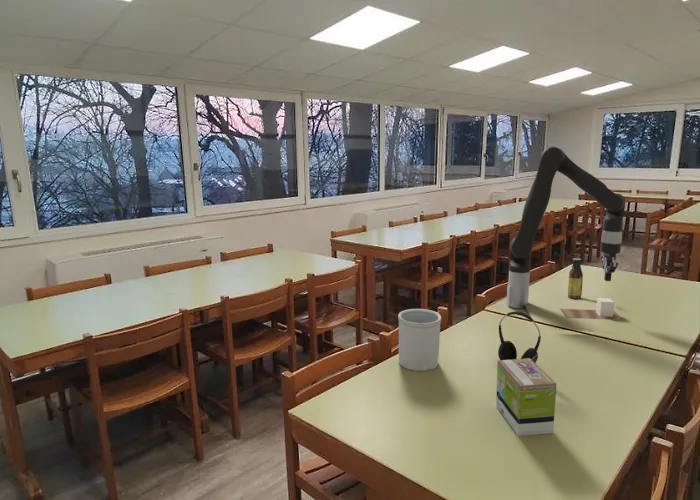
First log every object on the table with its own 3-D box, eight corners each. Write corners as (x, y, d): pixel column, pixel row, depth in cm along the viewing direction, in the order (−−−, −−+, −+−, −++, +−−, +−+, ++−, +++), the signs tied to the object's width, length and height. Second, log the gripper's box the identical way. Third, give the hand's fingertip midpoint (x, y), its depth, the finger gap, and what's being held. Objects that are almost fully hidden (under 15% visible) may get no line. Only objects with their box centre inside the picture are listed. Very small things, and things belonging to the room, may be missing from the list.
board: (566, 321, 199) (566, 317, 198) (559, 311, 210) (559, 308, 210) (624, 323, 195) (624, 319, 194) (613, 313, 206) (613, 310, 206)
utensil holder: (443, 356, 166) (444, 310, 163) (436, 374, 153) (437, 325, 149) (403, 351, 171) (403, 306, 168) (393, 369, 158) (393, 320, 154)
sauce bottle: (582, 299, 226) (586, 260, 222) (569, 299, 228) (572, 260, 224) (579, 296, 233) (582, 257, 229) (565, 295, 234) (568, 257, 230)
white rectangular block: (600, 316, 199) (601, 301, 198) (595, 312, 204) (597, 298, 203) (612, 316, 198) (614, 302, 197) (608, 312, 203) (609, 298, 202)
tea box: (494, 406, 133) (496, 358, 130) (527, 404, 134) (530, 356, 131) (517, 437, 118) (520, 384, 115) (554, 434, 119) (558, 382, 116)
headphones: (532, 379, 148) (535, 320, 144) (490, 365, 159) (493, 310, 155) (544, 370, 154) (547, 314, 150) (503, 357, 165) (506, 304, 161)
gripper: (596, 238, 202) (592, 276, 205) (607, 244, 189) (603, 284, 192) (614, 238, 201) (611, 277, 204) (627, 244, 188) (623, 285, 191)
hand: (607, 280), depth 198 cm, fingers closed
